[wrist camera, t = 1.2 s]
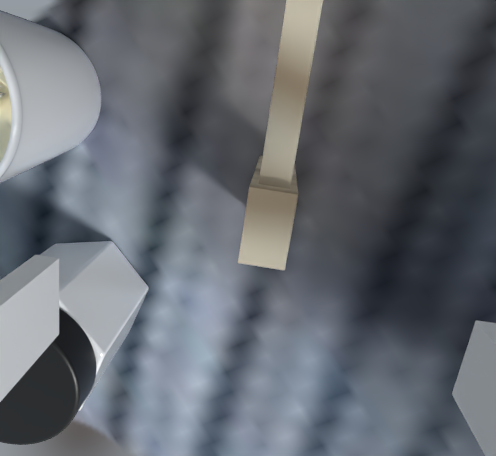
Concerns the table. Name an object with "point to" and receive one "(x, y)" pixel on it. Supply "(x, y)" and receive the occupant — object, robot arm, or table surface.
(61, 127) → the candle holder
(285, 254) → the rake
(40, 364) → the jar
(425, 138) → the table surface
